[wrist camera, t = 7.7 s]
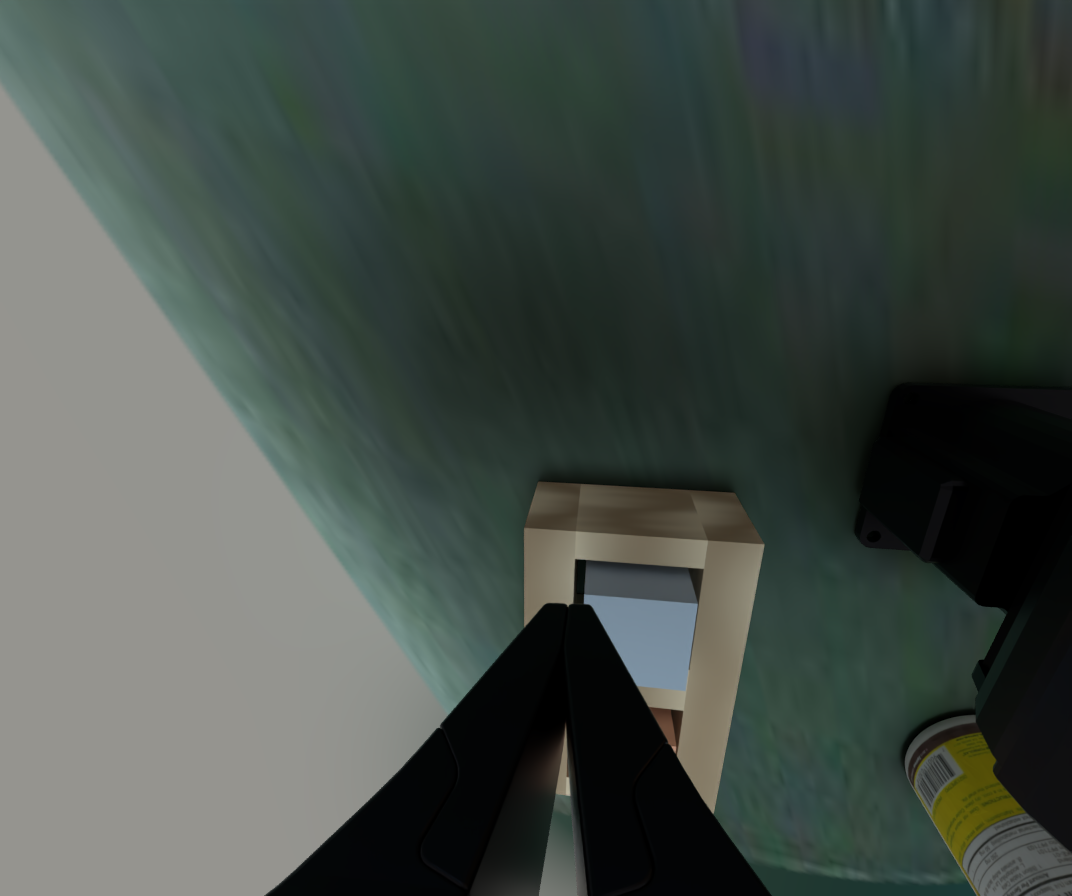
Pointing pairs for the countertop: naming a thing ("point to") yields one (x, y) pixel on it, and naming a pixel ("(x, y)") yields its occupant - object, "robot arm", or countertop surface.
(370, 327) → the countertop surface
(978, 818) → the supplement bottle
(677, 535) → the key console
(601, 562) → the light blue square block
